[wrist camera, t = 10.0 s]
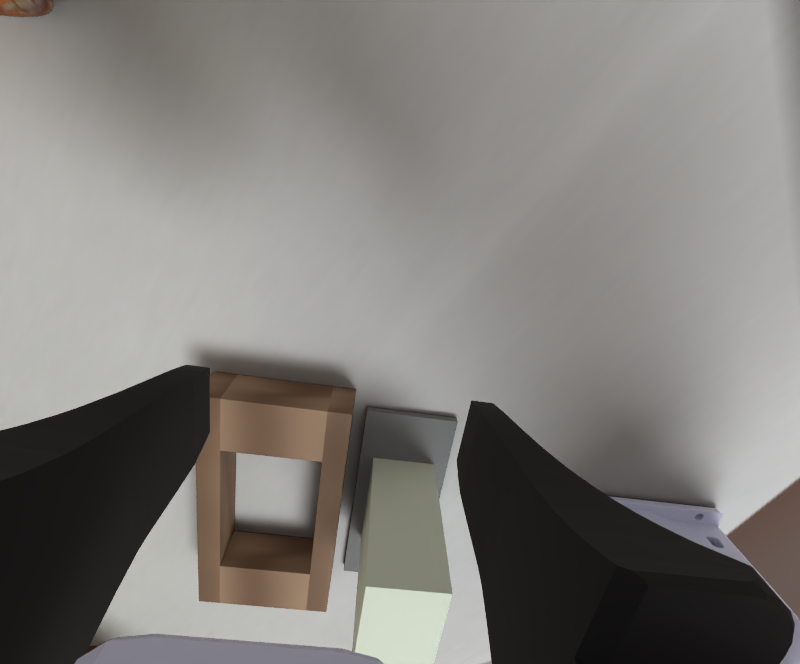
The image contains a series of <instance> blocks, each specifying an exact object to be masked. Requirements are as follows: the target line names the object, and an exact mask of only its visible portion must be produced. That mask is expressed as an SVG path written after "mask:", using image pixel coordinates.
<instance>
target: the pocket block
mask: <svg viewBox="0 0 800 664" xmlns="http://www.w3.org/2000/svg"><path fill="white" fill-rule="evenodd" d="M355 393H356V389H349V388H341V387H333V386H325V385H317V384H309V383H301V382H293V381H285V380H277V379H269V378H261V377H253V376H245V375H237V374H229V373H221V372H214V373H213V374H212V375H211V376H210V433H209V435H208V437H207V440H206V442H205V444H204V446H203V448H202V450H201V453H200V455H199V457H198V459H197V461H196V487H197V532H198V576H199V601H205V602H217V603H229V604H240V605H252V606H263V607H275V608H287V609H298V610H310V611H322V612H326V609H327V602H328V595H329V588H330V581H331V574H332V566H333V559H334V551H335V544H336V536H337V529H338V521H339V514H340V506H341V498H342V491H343V483H344V476H345V468H346V461H347V453H348V446H349V438H350V430H351V423H352V415H353V408H354V400H355ZM236 452H238V453H247V454H256V455H265V456H274V457H283V458H292V459H301V460H309V461H318V462H322V467H321V476H320V486H319V495H318V504H317V514H316V523H315V532H314V539H310V538H300V537H290V536H279V535H269V534H259V533H249V532H239V531H235V480H236Z"/></svg>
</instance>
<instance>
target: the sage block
mask: <svg viewBox="0 0 800 664" xmlns="http://www.w3.org/2000/svg"><path fill="white" fill-rule="evenodd" d="M451 598H452V588H451V580H450V573H449V566H448V559H447V552H446V545H445V538H444V531H443V524H442V517H441V510H440V503H439V496H438V489H437V482H436V475H435V468H434V464H426V463H417V462H408V461H399V460H390V459H381V458H373V464H372V470H371V477H370V483H369V490H368V496H367V503H366V509H365V516H364V522H363V528H362V535H361V546H360V559H359V572H358V584H357V597H356V610H355V623H354V635H353V648H352V651H353V652H356V653H360V654H364V655H368V656H372V657H375V658H378V659H379V660H380V661H382V662H383V663H384V664H433V663H434V660H435V656H436V652H437V649H438V645H439V641H440V638H441V634H442V630H443V627H444V623H445V619H446V616H447V612H448V608H449V605H450V601H451Z"/></svg>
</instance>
